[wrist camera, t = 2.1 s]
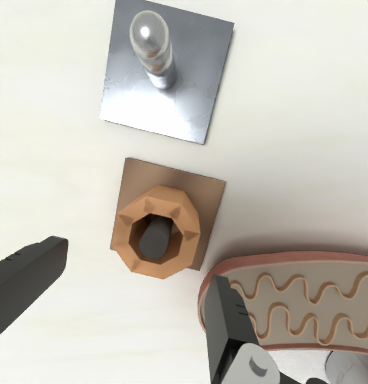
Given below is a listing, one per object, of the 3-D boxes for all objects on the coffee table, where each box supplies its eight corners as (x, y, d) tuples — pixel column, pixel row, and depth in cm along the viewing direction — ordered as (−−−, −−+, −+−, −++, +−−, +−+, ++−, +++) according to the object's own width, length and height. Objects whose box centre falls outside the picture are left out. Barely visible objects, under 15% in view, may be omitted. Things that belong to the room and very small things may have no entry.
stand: (223, 180, 19) (241, 196, 12) (199, 265, 21) (203, 318, 14) (128, 157, 19) (93, 160, 12) (113, 244, 21) (76, 288, 14)
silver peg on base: (231, 30, 16) (263, -66, 9) (202, 144, 18) (210, 139, 11) (121, 2, 16) (64, -118, 9) (104, 120, 18) (47, 98, 11)
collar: (203, 195, 19) (207, 210, 14) (187, 252, 20) (186, 284, 15) (140, 180, 18) (121, 189, 14) (128, 238, 20) (108, 266, 15)
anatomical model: (195, 308, 23) (196, 351, 18) (197, 232, 21) (199, 256, 16) (391, 315, 22) (449, 363, 17) (413, 237, 20) (486, 264, 15)
